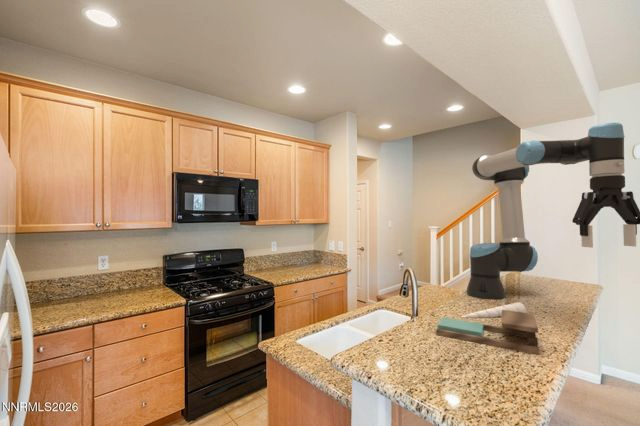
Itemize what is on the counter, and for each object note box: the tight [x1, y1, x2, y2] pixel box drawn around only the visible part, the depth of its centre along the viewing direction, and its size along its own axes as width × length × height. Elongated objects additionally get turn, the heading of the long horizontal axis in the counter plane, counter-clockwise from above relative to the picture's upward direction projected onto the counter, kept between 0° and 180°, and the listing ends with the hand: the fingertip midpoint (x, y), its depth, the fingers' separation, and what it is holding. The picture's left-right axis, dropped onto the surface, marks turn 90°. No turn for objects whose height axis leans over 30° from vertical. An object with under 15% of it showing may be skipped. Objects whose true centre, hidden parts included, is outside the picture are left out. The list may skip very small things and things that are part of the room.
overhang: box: [436, 310, 540, 356], centre depth 87 cm, size 25×14×7 cm, turn 57°
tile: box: [437, 317, 485, 337], centre depth 90 cm, size 12×8×3 cm, turn 57°
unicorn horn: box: [460, 301, 527, 319], centre depth 104 cm, size 5×24×5 cm, turn 92°
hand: (608, 246), depth 86 cm, fingers open, 13 cm apart
